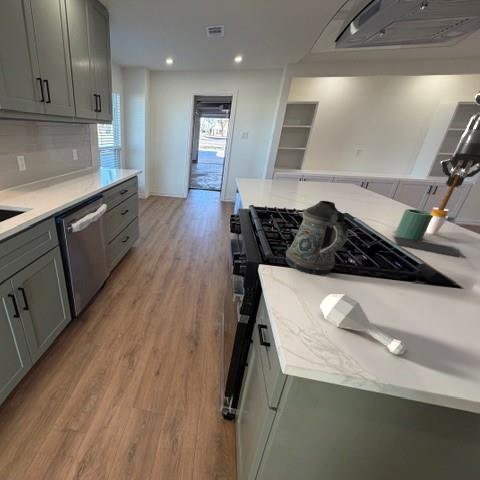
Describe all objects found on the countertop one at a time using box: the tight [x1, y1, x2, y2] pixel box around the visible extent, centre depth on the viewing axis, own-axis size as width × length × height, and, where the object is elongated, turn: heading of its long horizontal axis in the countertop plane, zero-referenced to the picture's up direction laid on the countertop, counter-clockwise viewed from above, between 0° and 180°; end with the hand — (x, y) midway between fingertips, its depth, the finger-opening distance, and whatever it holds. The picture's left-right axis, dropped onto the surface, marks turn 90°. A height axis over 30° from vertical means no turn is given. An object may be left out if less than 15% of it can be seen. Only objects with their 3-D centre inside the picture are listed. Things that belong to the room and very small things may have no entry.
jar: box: [394, 208, 433, 241], centre depth 125 cm, size 10×10×13 cm
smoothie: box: [426, 215, 449, 235], centre depth 131 cm, size 6×6×14 cm
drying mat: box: [393, 235, 460, 258], centre depth 117 cm, size 20×12×1 cm, turn 55°
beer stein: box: [285, 200, 349, 276], centre depth 92 cm, size 16×19×25 cm
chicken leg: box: [319, 293, 406, 355], centre depth 64 cm, size 8×18×8 cm, turn 37°
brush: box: [430, 173, 461, 217], centre depth 108 cm, size 5×5×18 cm
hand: (452, 186), depth 106 cm, fingers closed on brush
